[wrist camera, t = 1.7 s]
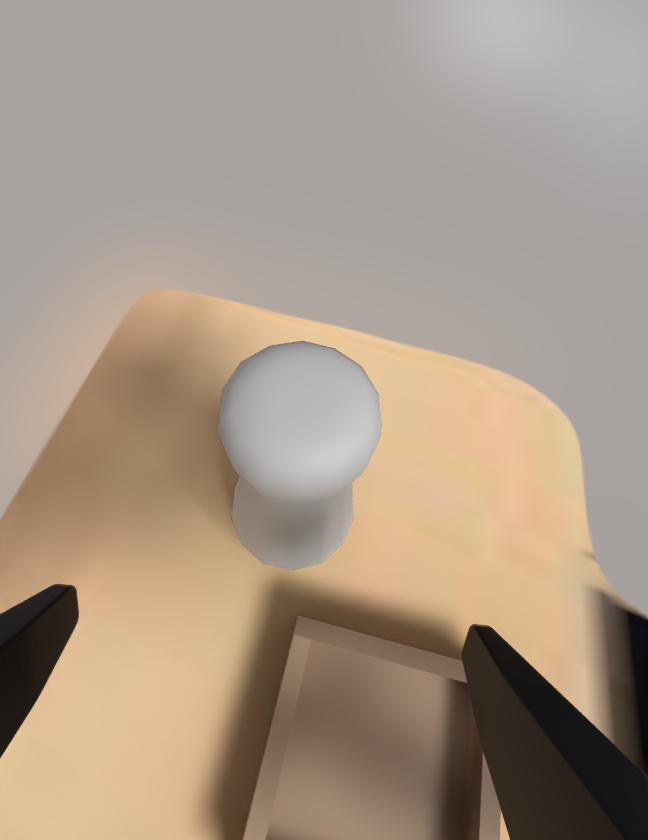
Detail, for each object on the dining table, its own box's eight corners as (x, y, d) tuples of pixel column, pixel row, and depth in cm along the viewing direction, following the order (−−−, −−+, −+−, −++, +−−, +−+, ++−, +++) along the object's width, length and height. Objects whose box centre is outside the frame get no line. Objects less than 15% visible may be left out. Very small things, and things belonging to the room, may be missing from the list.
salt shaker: (222, 559, 20) (132, 479, 8) (255, 455, 22) (221, 283, 11) (335, 586, 20) (406, 543, 8) (355, 479, 22) (430, 330, 11)
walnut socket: (466, 943, 15) (495, 997, 13) (233, 873, 15) (224, 914, 13) (480, 666, 19) (504, 672, 17) (297, 615, 19) (298, 615, 17)
